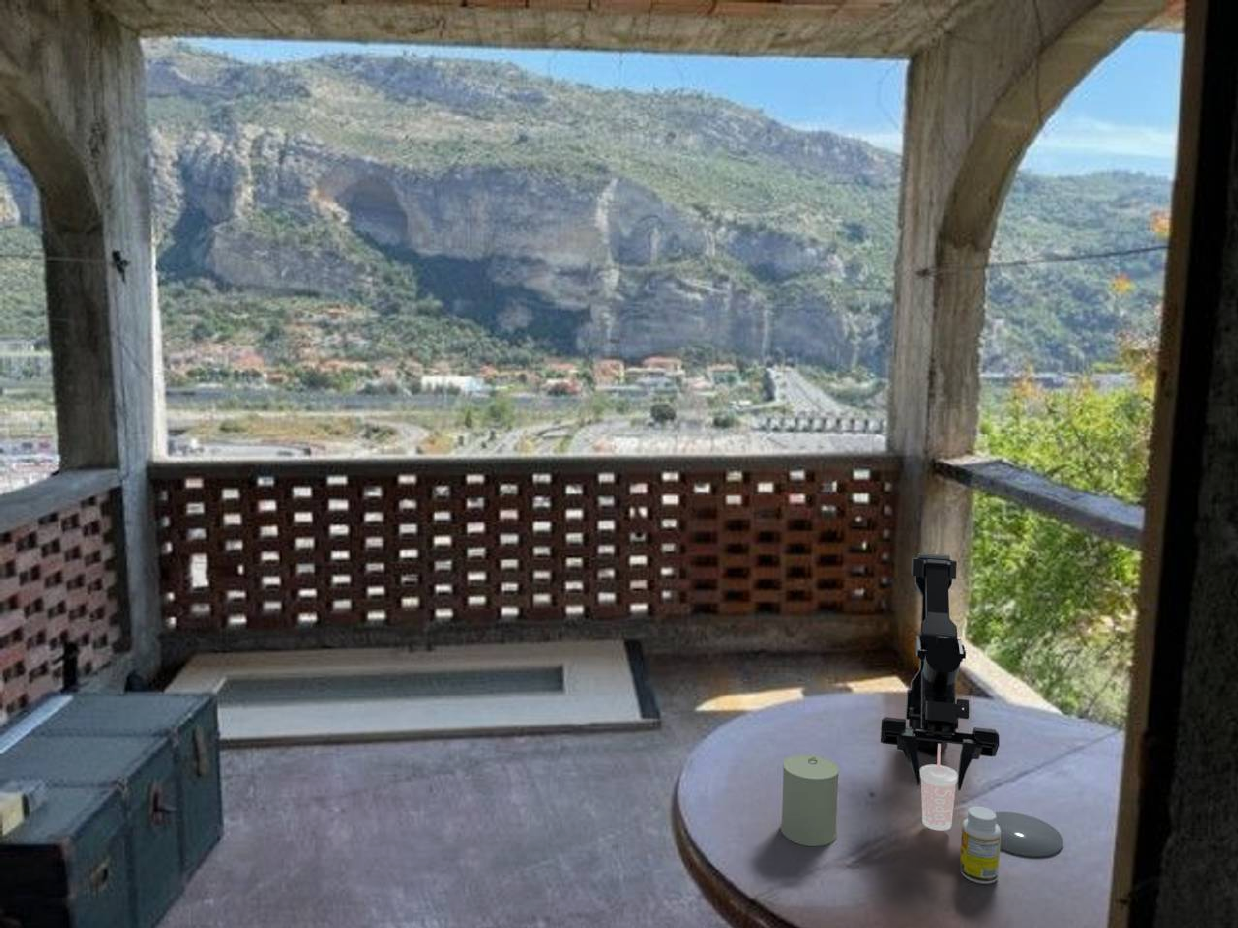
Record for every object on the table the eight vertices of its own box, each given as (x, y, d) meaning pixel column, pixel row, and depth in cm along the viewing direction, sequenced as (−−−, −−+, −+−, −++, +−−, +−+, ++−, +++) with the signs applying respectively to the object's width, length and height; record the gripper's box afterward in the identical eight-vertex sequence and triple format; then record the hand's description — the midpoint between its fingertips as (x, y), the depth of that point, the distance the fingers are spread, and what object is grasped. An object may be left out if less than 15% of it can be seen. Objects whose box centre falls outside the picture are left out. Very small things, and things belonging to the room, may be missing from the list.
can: (839, 822, 156) (842, 755, 155) (833, 850, 148) (836, 780, 146) (785, 813, 159) (787, 747, 158) (776, 840, 151) (778, 771, 149)
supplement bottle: (967, 860, 145) (970, 799, 144) (1003, 873, 142) (1007, 811, 140) (953, 876, 141) (957, 813, 140) (991, 890, 137) (995, 826, 136)
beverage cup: (916, 828, 152) (918, 748, 150) (919, 810, 158) (921, 733, 156) (955, 835, 150) (958, 754, 148) (957, 817, 155) (960, 739, 153)
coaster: (965, 836, 152) (965, 833, 152) (992, 807, 162) (993, 803, 162) (1049, 866, 144) (1049, 863, 144) (1072, 833, 153) (1072, 829, 153)
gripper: (884, 672, 156) (881, 762, 148) (1002, 684, 151) (1006, 778, 143) (882, 698, 165) (879, 785, 156) (993, 710, 160) (997, 800, 151)
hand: (938, 786), depth 151 cm, fingers closed on beverage cup, 6 cm apart
